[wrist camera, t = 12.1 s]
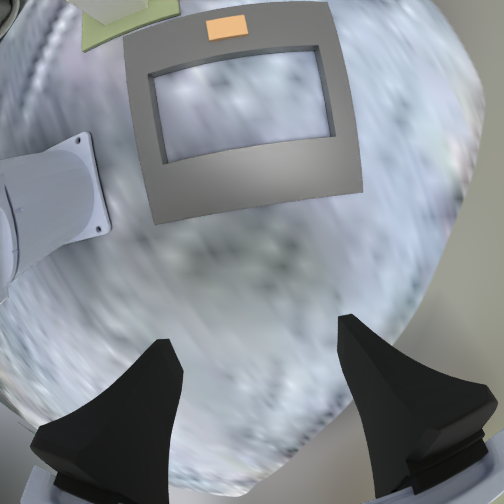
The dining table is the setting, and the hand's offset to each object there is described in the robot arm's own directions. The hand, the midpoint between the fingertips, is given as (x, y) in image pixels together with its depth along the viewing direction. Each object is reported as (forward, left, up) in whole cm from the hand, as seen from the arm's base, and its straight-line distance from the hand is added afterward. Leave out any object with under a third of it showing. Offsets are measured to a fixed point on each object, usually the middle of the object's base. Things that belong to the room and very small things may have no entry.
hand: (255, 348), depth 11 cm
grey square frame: (+1, +11, -9) cm, 15 cm away
